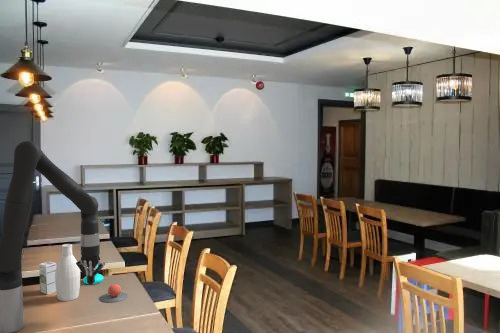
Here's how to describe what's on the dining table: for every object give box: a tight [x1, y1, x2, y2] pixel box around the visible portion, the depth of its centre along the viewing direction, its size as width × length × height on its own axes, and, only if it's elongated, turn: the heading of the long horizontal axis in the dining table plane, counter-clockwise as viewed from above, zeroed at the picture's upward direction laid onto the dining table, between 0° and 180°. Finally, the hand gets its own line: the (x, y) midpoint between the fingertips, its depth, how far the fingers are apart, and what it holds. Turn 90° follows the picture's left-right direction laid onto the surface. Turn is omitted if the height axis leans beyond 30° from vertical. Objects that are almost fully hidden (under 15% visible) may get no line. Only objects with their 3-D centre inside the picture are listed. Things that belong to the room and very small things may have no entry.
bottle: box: [55, 243, 81, 302], centre depth 201 cm, size 11×11×25 cm
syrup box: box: [38, 260, 57, 295], centre depth 209 cm, size 6×6×14 cm
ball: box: [107, 283, 122, 297], centre depth 204 cm, size 6×6×6 cm
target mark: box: [98, 291, 129, 304], centre depth 203 cm, size 13×13×1 cm
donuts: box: [83, 264, 104, 285], centre depth 224 cm, size 10×10×10 cm
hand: (90, 283), depth 181 cm, fingers closed
